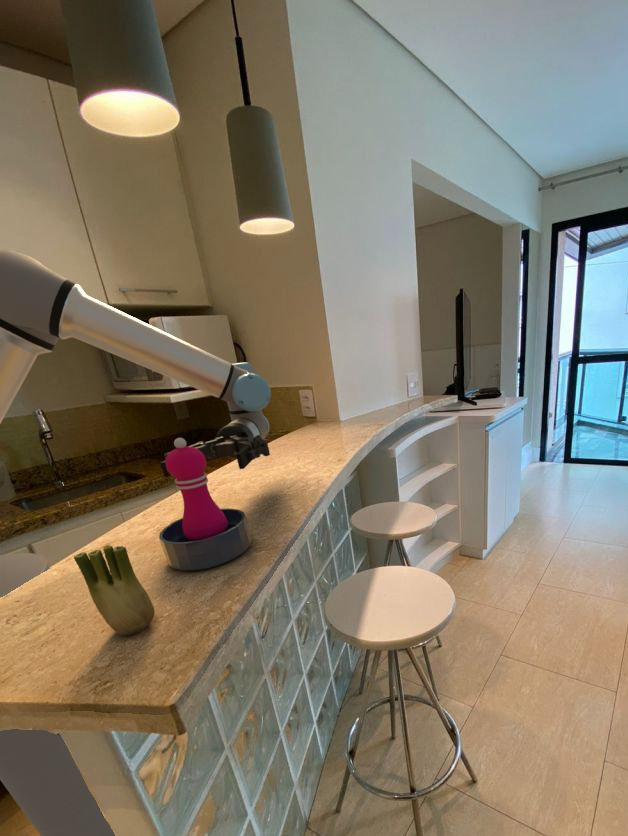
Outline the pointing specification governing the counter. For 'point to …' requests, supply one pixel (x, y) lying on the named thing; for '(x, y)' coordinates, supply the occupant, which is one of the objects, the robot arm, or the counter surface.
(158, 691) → the counter surface
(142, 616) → the fennel bulb
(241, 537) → the bowl
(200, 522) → the pepper mill
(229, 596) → the counter surface
